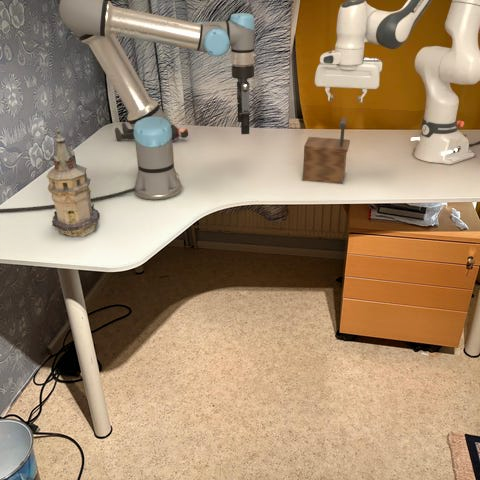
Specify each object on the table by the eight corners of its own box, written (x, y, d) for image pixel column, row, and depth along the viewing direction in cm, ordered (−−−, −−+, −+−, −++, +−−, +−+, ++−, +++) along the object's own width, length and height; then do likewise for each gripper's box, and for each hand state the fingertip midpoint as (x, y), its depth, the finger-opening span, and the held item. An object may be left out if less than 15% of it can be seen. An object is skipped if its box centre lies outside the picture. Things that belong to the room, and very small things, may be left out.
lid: (349, 142, 184) (352, 116, 179) (347, 152, 176) (349, 125, 171) (308, 139, 187) (309, 114, 182) (304, 148, 179) (305, 122, 174)
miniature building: (80, 214, 164) (63, 117, 149) (111, 225, 157) (96, 125, 142) (44, 231, 154) (22, 130, 140) (75, 244, 147) (55, 139, 133)
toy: (130, 116, 235) (195, 116, 229) (132, 130, 238) (197, 130, 232) (105, 135, 213) (177, 135, 207) (108, 150, 216) (179, 151, 210)
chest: (344, 173, 189) (347, 142, 184) (342, 183, 181) (345, 152, 176) (306, 170, 193) (308, 139, 187) (302, 180, 184) (304, 149, 179)
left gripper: (258, 72, 165) (258, 138, 175) (250, 57, 187) (250, 116, 197) (234, 73, 164) (235, 139, 175) (228, 57, 186) (229, 117, 197)
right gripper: (383, 56, 166) (378, 100, 173) (317, 53, 171) (315, 97, 178) (383, 60, 161) (377, 105, 168) (315, 57, 165) (312, 102, 172)
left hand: (243, 127), depth 186 cm, fingers open, 13 cm apart
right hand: (345, 101), depth 173 cm, fingers open, 8 cm apart
